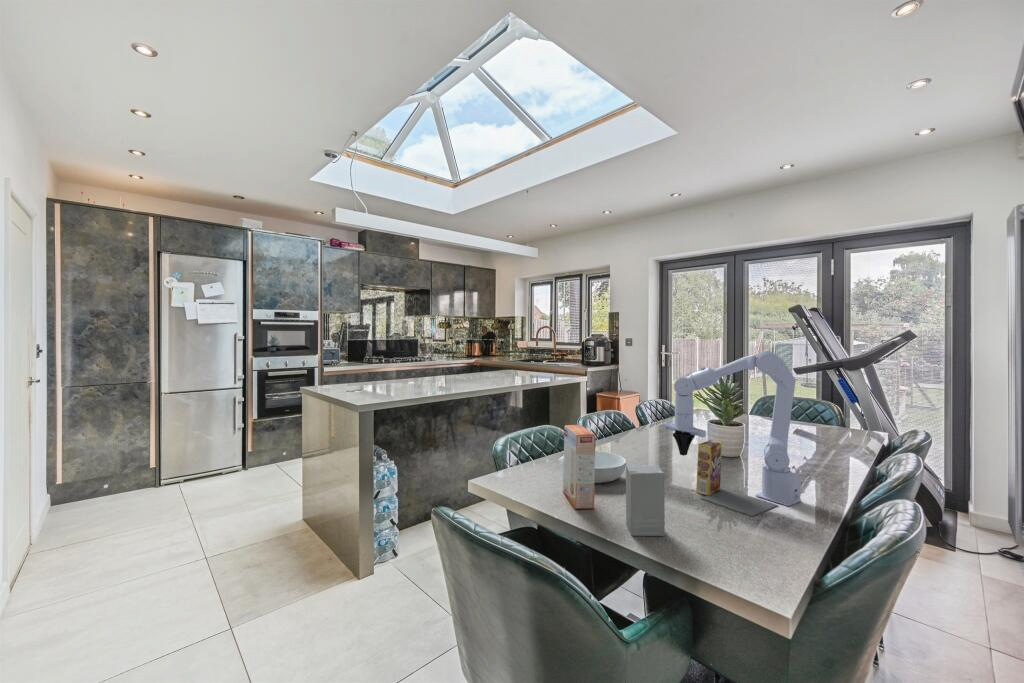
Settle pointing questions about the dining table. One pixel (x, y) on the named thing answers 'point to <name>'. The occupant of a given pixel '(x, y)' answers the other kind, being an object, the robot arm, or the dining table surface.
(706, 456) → the candy box
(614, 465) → the serving bowl
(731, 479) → the dining table surface
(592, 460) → the cracker box
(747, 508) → the mat
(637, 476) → the skincare box
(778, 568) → the dining table surface
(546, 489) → the dining table surface
